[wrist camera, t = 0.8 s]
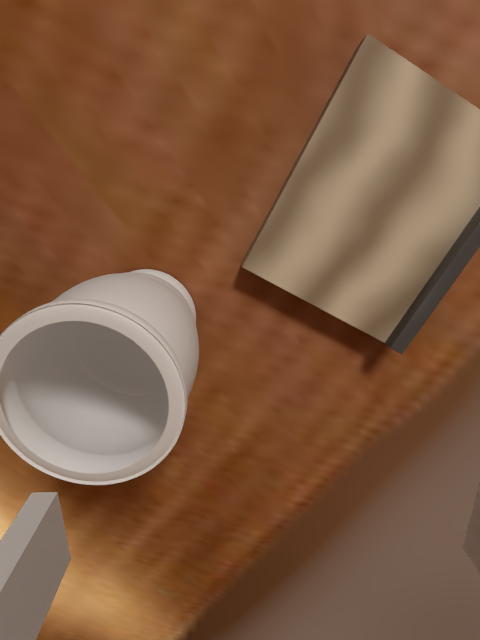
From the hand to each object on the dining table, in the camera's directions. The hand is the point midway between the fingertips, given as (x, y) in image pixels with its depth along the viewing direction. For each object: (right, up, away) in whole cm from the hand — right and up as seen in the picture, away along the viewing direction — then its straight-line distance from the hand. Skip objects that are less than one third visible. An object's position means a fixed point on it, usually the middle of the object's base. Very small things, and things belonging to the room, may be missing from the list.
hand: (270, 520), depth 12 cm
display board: (+10, +16, +19) cm, 26 cm away
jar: (-9, +7, +22) cm, 24 cm away
